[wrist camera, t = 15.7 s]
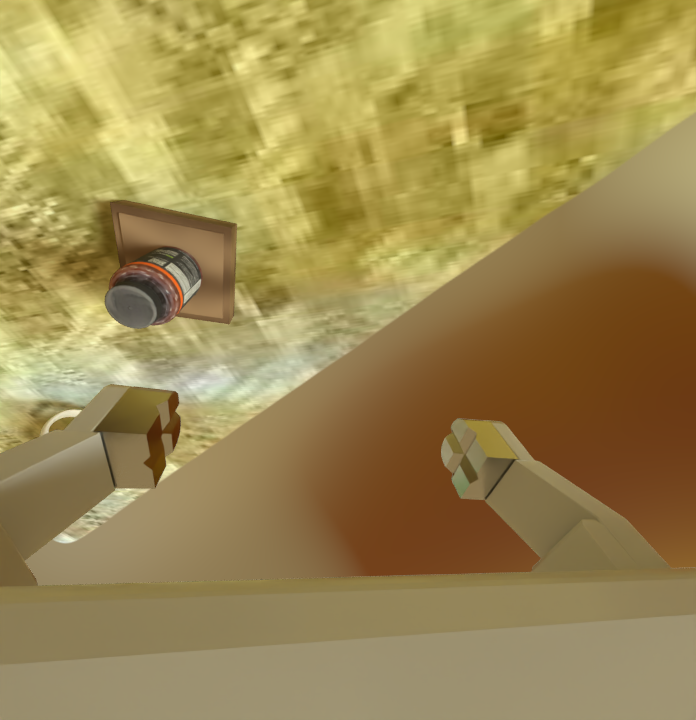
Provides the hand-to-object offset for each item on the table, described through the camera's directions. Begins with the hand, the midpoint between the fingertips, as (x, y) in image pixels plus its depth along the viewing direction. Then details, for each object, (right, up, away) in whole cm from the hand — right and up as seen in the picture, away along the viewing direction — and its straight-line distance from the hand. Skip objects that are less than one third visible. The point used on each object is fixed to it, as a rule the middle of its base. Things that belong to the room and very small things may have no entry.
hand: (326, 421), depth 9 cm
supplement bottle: (-19, +12, +26) cm, 35 cm away
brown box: (-20, +14, +29) cm, 38 cm away
